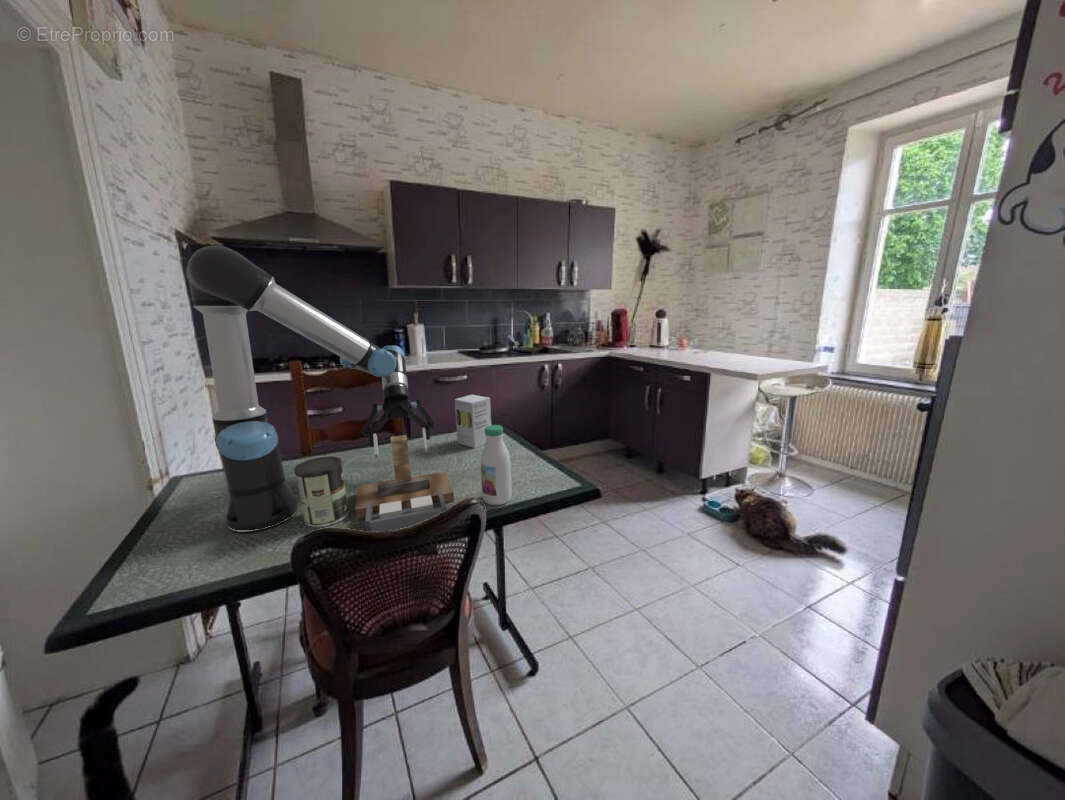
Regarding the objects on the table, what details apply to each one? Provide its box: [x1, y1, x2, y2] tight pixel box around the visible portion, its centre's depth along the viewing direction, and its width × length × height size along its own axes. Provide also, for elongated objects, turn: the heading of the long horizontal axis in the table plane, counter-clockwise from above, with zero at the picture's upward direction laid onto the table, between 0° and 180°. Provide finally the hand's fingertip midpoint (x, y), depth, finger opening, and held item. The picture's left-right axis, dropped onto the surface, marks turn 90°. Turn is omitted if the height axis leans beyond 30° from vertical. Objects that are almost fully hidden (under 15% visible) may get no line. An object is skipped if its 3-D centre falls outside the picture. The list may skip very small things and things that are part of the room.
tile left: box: [379, 501, 403, 519], centre depth 99 cm, size 5×5×3 cm
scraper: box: [378, 434, 430, 497], centre depth 109 cm, size 13×6×14 cm, turn 109°
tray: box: [364, 489, 448, 531], centre depth 99 cm, size 18×11×4 cm, turn 109°
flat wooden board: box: [354, 471, 455, 520], centre depth 111 cm, size 24×14×2 cm, turn 109°
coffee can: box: [293, 456, 350, 528], centre depth 101 cm, size 10×10×14 cm
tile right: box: [411, 495, 433, 513], centre depth 101 cm, size 5×5×3 cm
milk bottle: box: [480, 424, 513, 506], centre depth 106 cm, size 8×8×20 cm
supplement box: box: [454, 394, 492, 449], centre depth 149 cm, size 10×9×17 cm
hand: (401, 453), depth 117 cm, fingers open, 13 cm apart
